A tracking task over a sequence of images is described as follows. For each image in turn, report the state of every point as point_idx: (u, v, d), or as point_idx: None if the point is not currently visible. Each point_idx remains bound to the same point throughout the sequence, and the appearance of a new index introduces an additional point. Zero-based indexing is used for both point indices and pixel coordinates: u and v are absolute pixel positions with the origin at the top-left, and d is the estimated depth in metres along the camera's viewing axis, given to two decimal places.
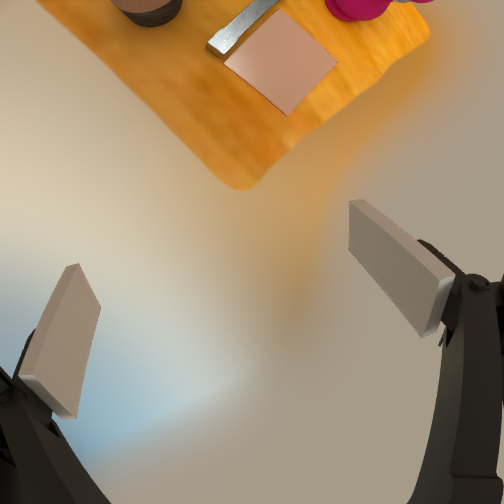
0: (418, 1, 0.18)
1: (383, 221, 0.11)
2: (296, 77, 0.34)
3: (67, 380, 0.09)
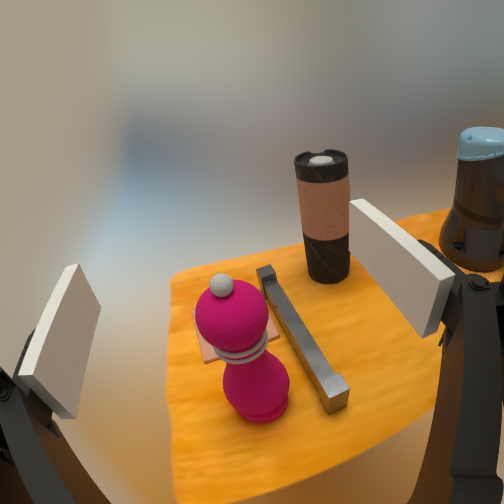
0: None
1: (383, 221, 0.11)
2: None
3: (67, 380, 0.09)
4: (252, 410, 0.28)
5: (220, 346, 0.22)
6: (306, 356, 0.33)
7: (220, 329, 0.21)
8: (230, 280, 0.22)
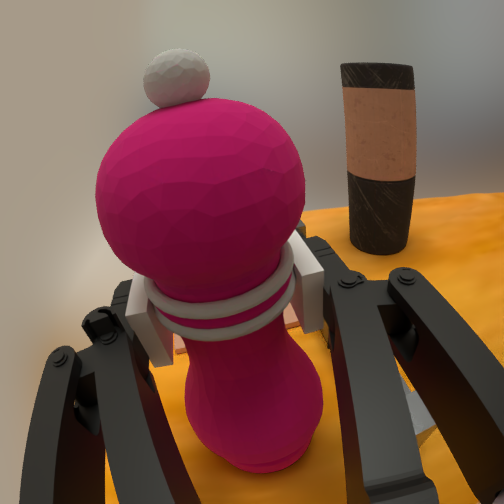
0: None
1: None
2: None
3: None
4: (237, 457, 0.11)
5: (137, 259, 0.07)
6: None
7: (134, 180, 0.06)
8: (201, 59, 0.06)
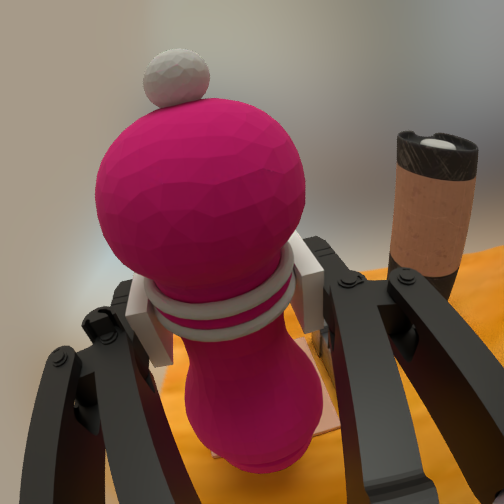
0: None
1: None
2: None
3: None
4: (237, 458, 0.11)
5: (137, 260, 0.07)
6: None
7: (134, 180, 0.06)
8: (201, 59, 0.06)
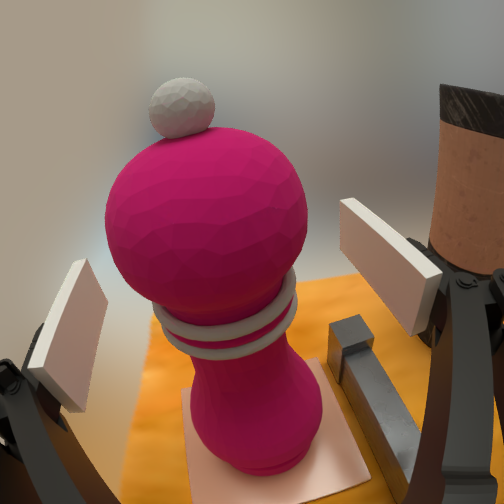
0: None
1: (372, 219, 0.12)
2: None
3: (76, 373, 0.09)
4: (241, 462, 0.12)
5: (149, 290, 0.07)
6: None
7: (146, 219, 0.06)
8: (206, 89, 0.07)
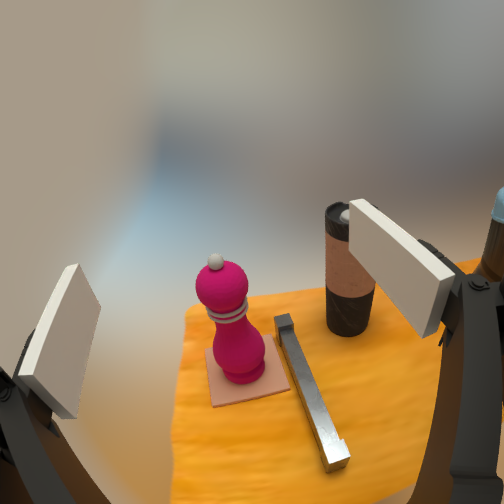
0: None
1: (383, 221, 0.11)
2: None
3: (67, 380, 0.09)
4: (232, 368, 0.37)
5: (210, 305, 0.32)
6: (313, 417, 0.31)
7: (210, 291, 0.31)
8: (221, 258, 0.32)
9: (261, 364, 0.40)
